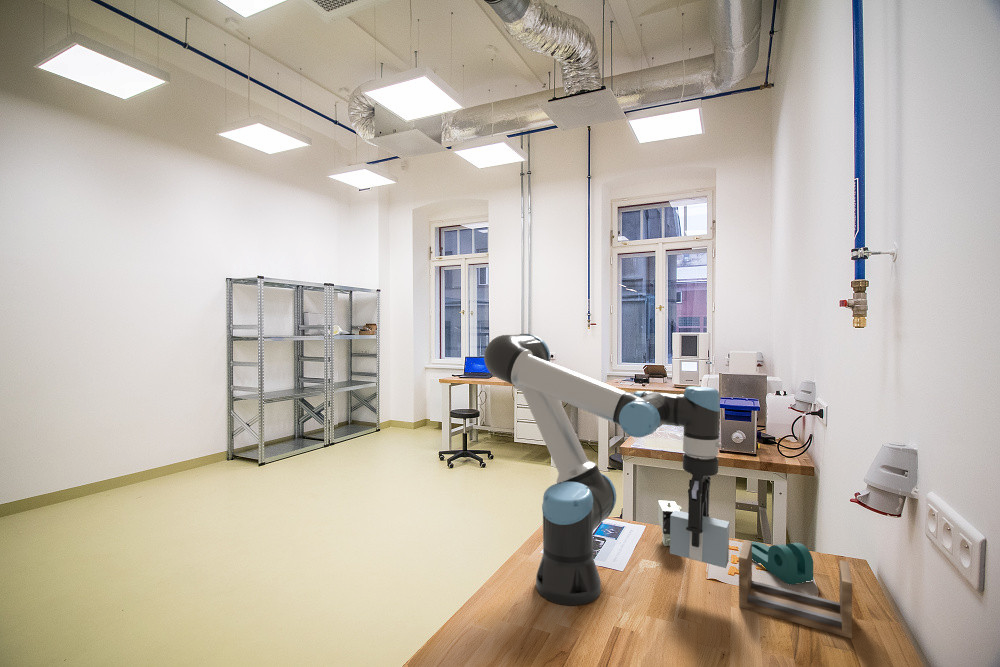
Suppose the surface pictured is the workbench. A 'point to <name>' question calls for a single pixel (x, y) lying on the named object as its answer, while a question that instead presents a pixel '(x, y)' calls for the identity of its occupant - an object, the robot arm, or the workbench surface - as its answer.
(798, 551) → the bracket
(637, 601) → the workbench surface
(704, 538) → the door panel
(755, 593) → the track
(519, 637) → the workbench surface
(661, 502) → the pneumatic valve
